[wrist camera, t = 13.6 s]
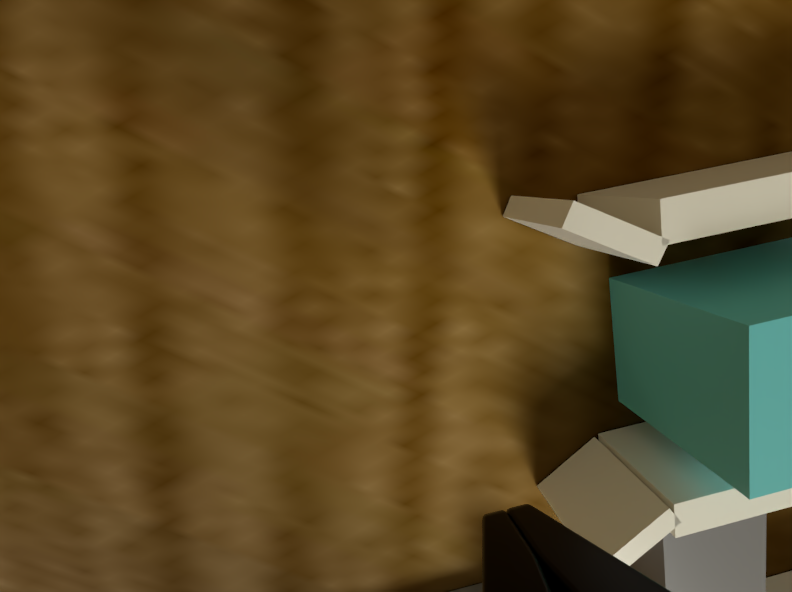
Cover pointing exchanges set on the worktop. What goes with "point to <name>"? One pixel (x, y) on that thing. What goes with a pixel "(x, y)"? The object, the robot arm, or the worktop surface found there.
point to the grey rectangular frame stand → (470, 588)
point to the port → (641, 443)
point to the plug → (713, 360)
